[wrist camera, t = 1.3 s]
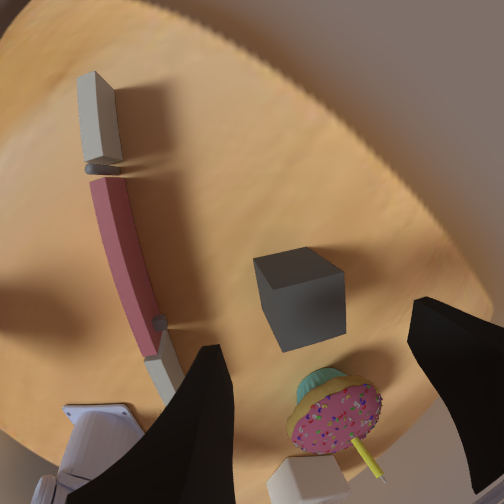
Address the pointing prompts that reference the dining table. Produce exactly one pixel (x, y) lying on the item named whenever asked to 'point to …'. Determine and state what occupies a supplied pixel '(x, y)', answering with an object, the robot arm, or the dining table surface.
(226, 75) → the dining table surface
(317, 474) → the medicine bottle
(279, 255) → the dark grey block
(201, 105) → the dining table surface
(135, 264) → the door
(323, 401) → the cupcake
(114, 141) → the wall frame
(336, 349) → the dining table surface
